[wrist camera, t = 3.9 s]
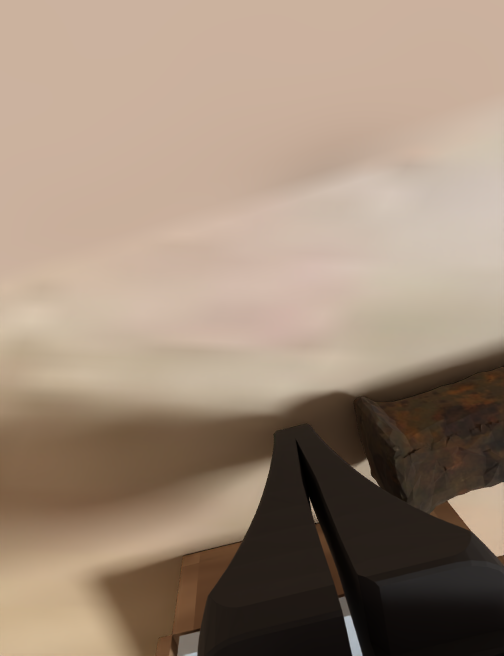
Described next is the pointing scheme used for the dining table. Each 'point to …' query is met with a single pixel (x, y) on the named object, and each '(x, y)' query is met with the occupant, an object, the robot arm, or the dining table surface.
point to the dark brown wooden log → (437, 440)
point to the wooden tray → (211, 564)
